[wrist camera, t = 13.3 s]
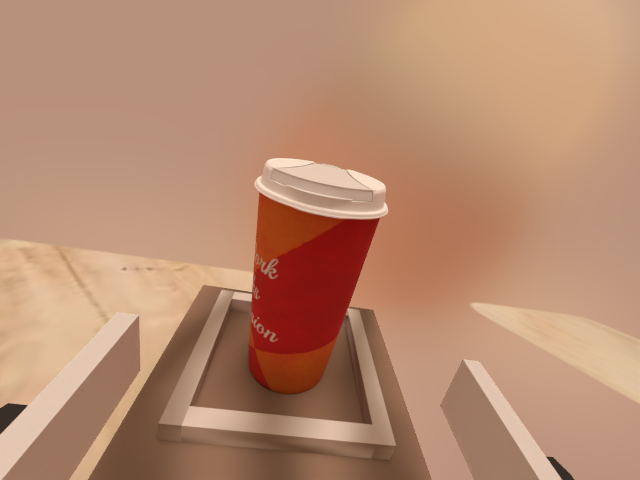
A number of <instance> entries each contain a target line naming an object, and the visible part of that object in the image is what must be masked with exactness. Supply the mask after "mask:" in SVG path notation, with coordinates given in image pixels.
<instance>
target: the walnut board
mask: <svg viewBox="0 0 640 480" xmlns="http://www.w3.org/2000/svg"><path fill="white" fill-rule="evenodd" d="M251 303H252V292H247V291H240V290H234V289H227V288H220V287H213V286H207V285H203V287H202V288H201V290H200V292H199V294H198V295H197V297H196V299H195V300H194V302H193V304H192V305H191V307H190V309H189V310H188V312H187V314H186V315H185V317H184V319H183V320H182V322H181V324H180V326H179V327H178V329H177V331H176V332H175V334H174V336H173V337H172V339H171V341H170V342H169V344H168V346H167V347H166V349H165V351H164V352H163V354H162V356H161V358H160V359H159V361H158V363H157V364H156V366H155V368H154V369H153V371H152V373H151V374H150V376H149V378H148V379H147V381H146V383H145V384H144V386H143V388H142V390H141V391H140V393H139V395H138V396H137V398H136V400H135V401H134V403H133V405H132V406H131V408H130V410H129V411H128V413H127V415H126V416H125V418H124V420H123V422H122V423H121V425H120V427H119V428H118V430H117V432H116V433H115V435H114V437H113V438H112V440H111V442H110V443H109V445H108V447H107V449H106V450H105V452H104V454H103V455H102V457H101V459H100V460H99V462H98V464H97V465H96V467H95V469H94V470H93V472H92V474H91V475H90V477H89V479H88V480H431V477H430V474H429V471H428V468H427V465H426V463H425V460H424V457H423V454H422V451H421V448H420V445H419V442H418V439H417V436H416V433H415V430H414V428H413V425H412V422H411V419H410V416H409V413H408V410H407V407H406V404H405V401H404V399H403V396H402V393H401V390H400V387H399V384H398V381H397V378H396V375H395V372H394V370H393V366H392V364H391V361H390V358H389V355H388V352H387V349H386V347H385V343H384V340H383V337H382V334H381V332H380V329H379V326H378V323H377V320H376V317H375V314H374V311H373V310H369V309H361V308H355V307H348V309H347V312H346V315H345V317H344V320H343V323H342V326H341V329H340V331H339V334H338V337H337V340H336V342H335V345H334V348H333V351H332V353H331V356H330V359H329V361H328V364H327V366H326V369H325V371H324V374H323V376H322V378H321V379H320V381H319V382H318V384H317V385H315V386H314V387H313V388H312V389H310V390H308V391H305V392H302V393H298V394H281V393H277V392H274V391H271V390H269V389H267V388H265V387H263V386H262V385H261V384H260V383H258V382H257V381H256V380H255V378H254V377H253V375H252V374H251V371H250V368H249V362H248V352H249V333H250V317H251Z"/></svg>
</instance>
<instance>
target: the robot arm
mask: <svg viewBox="0 0 640 480" xmlns="http://www.w3.org/2000/svg"><path fill="white" fill-rule="evenodd" d="M139 371H140V340H139V315H136V314H129V313H121V312H117V313H116V314H115V315H114V316H113V317H112V318H111V319H110V320H109V321H108V322H107V323H106V324H105V326H104V327H103V328H102V329H101V330H100V331H99V332H98V333H97V334H96V335H95V336H94V337H93V338H92V339H91V340H90V341H89V342H88V343H87V344H86V345H85V346H84V348H83V349H82V350H81V351H80V352H79V353H78V354H77V355H76V356H75V357H74V358H73V359H72V360H71V361H70V362H69V363H68V364H67V365H66V366H65V367H64V368H63V370H62V371H61V372H60V373H59V374H58V375H57V376H56V377H55V378H54V379H53V380H52V381H51V382H50V383H49V384H48V385H47V386H46V387H45V388H44V389H43V390H42V392H41V393H40V394H39V395H38V396H37V397H36V398H35V399H34V400H33V401H32V402H31V403H30V404H29V405H19V404H10V403H8V404H6V405H5V406H3V407H2V408H0V480H69V479H70V477H71V476H72V474H73V473H74V471H75V470H76V468H77V467H78V465H79V463H80V462H81V460H82V459H83V457H84V456H85V454H86V453H87V451H88V450H89V448H90V447H91V445H92V443H93V442H94V440H95V439H96V437H97V436H98V434H99V433H100V431H101V430H102V428H103V427H104V425H105V423H106V422H107V420H108V419H109V417H110V416H111V414H112V413H113V411H114V410H115V408H116V407H117V405H118V403H119V402H120V400H121V399H122V397H123V396H124V394H125V393H126V391H127V390H128V388H129V387H130V385H131V383H132V382H133V380H134V379H135V377H136V376H137V374H138V373H139ZM440 406H441V408H442V410H443V412H444V414H445V416H446V418H447V421H448V423H449V425H450V427H451V429H452V432H453V434H454V436H455V438H456V440H457V443H458V445H459V447H460V449H461V451H462V453H463V456H464V458H465V460H466V462H467V464H468V467H469V469H470V471H471V473H472V475H473V477H474V479H475V480H574V479H573V477H572V476H571V475H570V474H569V473H568V472H567V471H566V470H565V469H564V468H563V467H562V466H561V465H560V464H559V463H558V462H557V461H556V460H555V459H554V458H553V457H546V456H545V455H544V453H543V452H542V450H541V449H540V447H539V446H538V445H537V443H536V442H535V440H534V439H533V437H532V436H531V435H530V433H529V432H528V431H527V429H526V427H525V426H524V425H523V423H522V422H521V420H520V419H519V417H518V416H517V415H516V413H515V412H514V410H513V409H512V407H511V406H510V404H509V403H508V402H507V400H506V399H505V397H504V396H503V394H502V393H501V392H500V390H499V389H498V387H497V386H496V384H495V383H494V382H493V380H492V379H491V377H490V376H489V374H488V373H487V372H486V370H485V369H484V367H483V366H482V365H481V363H480V362H479V361H473V360H465V359H463V360H462V362H461V364H460V366H459V368H458V370H457V373H456V374H455V376H454V379H453V380H452V383H451V385H450V387H449V389H448V391H447V393H446V395H445V397H444V399H443V401H442V403H441V405H440Z"/></svg>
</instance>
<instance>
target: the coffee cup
mask: <svg viewBox="0 0 640 480" xmlns="http://www.w3.org/2000/svg"><path fill="white" fill-rule="evenodd" d="M254 186H255V188H256V189H257V190H258V191H259V192H260V194H259V206H258V221H257V234H256V235H257V236H256V248H255V249H256V250H255V261H254V275H253V289H252V303H251V317H250V333H249V352H248V362H249V368H250V371H251V374H252V375H253V377H254V378H255V380H256V381H257V382H258V383H260V384H261V385H262V386H263V387H265V388H267V389H269V390H271V391H274V392H277V393H281V394H298V393H302V392H305V391H308V390H310V389H312V388H313V387H314V386H315V385H317V384H318V382H319V381H320V379H321V378H322V376H323V374H324V371H325V369H326V366H327V364H328V361H329V359H330V356H331V353H332V351H333V348H334V345H335V342H336V340H337V337H338V334H339V331H340V329H341V326H342V323H343V320H344V317H345V315H346V312H347V309H348V306H349V303H350V301H351V298H352V295H353V292H354V289H355V287H356V284H357V281H358V278H359V275H360V272H361V270H362V267H363V264H364V261H365V258H366V255H367V253H368V250H369V247H370V244H371V241H372V238H373V236H374V233H375V230H376V227H377V225H378V222H379V219H380V218H381V217H384V216H385V215H386V214H387V213H388V208H387V205H386V203H385V202H384V201H385V194H386V188H385V185H384V184H383V183H382V182H380V181H378V180H376V179H374V178H372V177H370V176H367V175H364V174H361V173H359V172H355V171H352V170H349V169H347V171H346V170H342V169H339V167H336V166H332V165H327V164H322V165H321V164H315V163H314V162H312V161H306V160H299V159H289V158H275V159H270V160H268V161H267V162H266V164H265V166H264V170H263V174H262V176H260V177H259V178H257V180H256V181H255V184H254Z"/></svg>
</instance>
